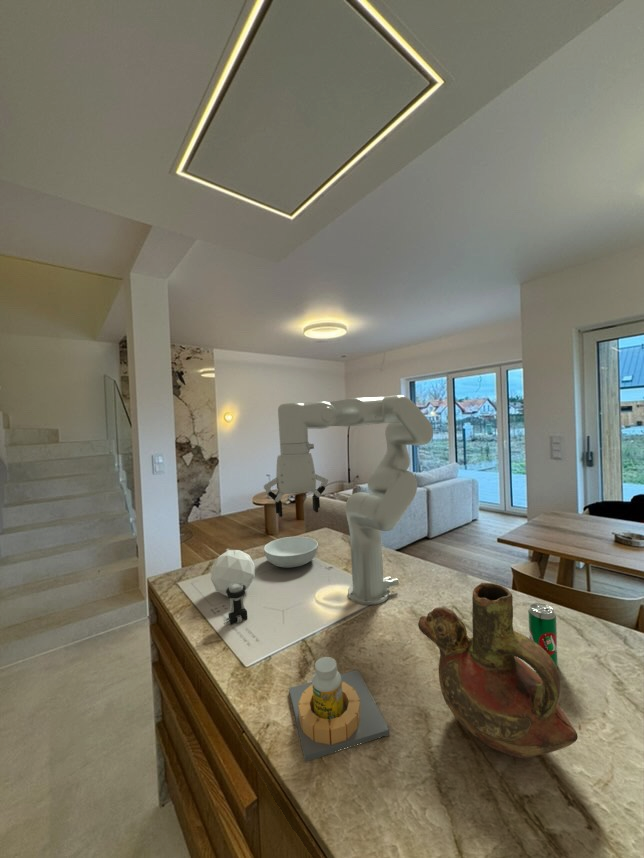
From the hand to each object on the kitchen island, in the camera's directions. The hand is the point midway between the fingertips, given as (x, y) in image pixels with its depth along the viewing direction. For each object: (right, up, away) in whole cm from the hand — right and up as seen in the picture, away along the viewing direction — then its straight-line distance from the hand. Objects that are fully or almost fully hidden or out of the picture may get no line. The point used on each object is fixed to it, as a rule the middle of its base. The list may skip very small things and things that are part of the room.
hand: (298, 513), depth 93 cm
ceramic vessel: (+36, -30, -32) cm, 56 cm away
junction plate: (+9, -31, -27) cm, 42 cm away
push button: (-18, -31, +4) cm, 36 cm away
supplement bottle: (+8, -30, -29) cm, 43 cm away
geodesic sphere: (-22, -31, +21) cm, 43 cm away
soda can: (+54, -28, -18) cm, 64 cm away
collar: (+8, -31, -29) cm, 43 cm away
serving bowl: (-5, -29, +42) cm, 51 cm away
